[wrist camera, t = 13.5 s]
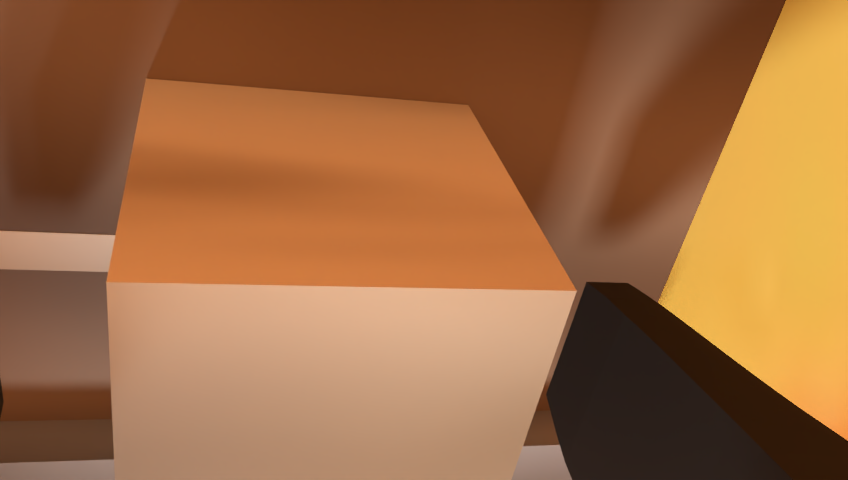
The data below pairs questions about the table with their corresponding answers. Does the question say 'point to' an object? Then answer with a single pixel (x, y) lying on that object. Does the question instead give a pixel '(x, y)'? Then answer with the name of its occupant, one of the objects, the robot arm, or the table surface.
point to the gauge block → (323, 292)
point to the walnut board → (359, 76)
